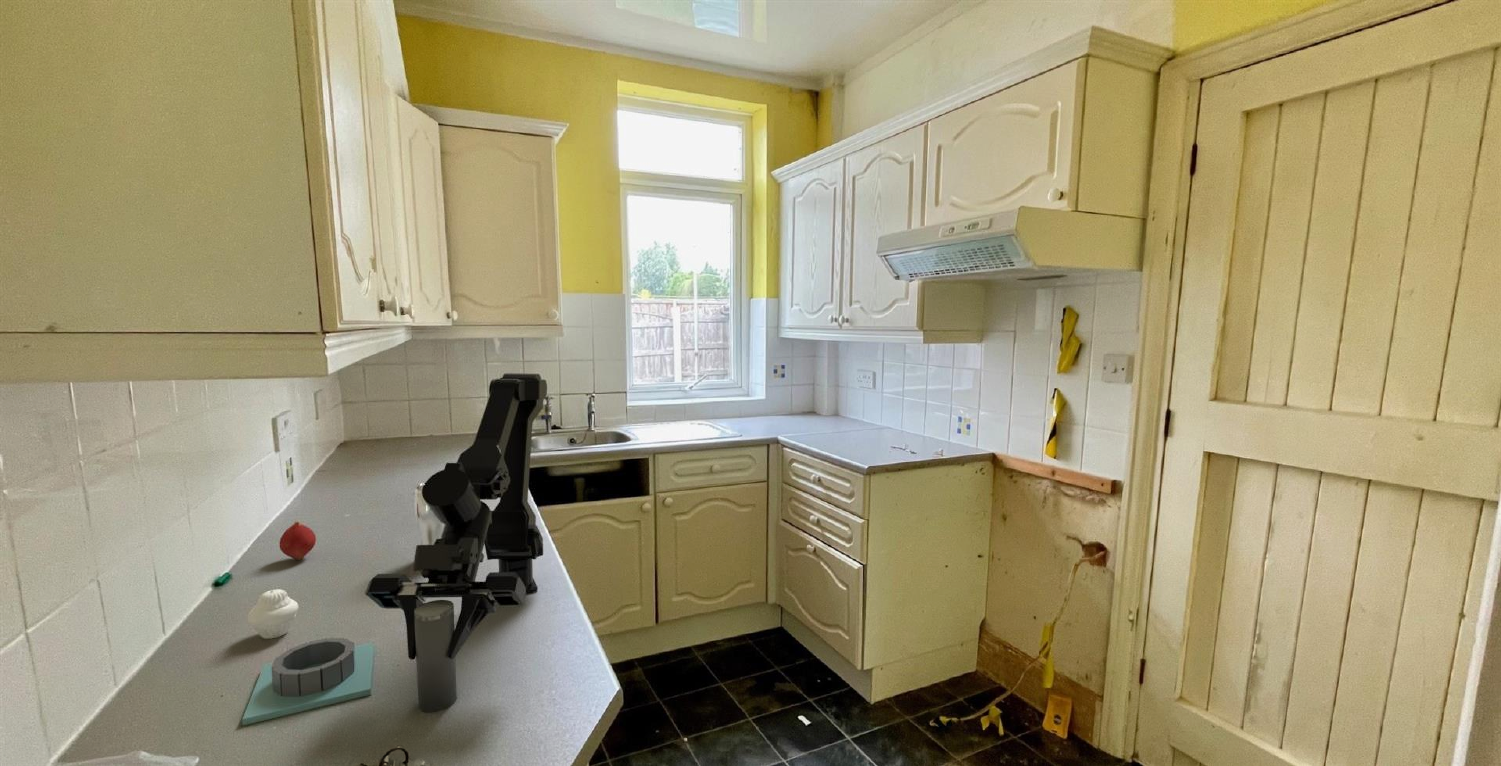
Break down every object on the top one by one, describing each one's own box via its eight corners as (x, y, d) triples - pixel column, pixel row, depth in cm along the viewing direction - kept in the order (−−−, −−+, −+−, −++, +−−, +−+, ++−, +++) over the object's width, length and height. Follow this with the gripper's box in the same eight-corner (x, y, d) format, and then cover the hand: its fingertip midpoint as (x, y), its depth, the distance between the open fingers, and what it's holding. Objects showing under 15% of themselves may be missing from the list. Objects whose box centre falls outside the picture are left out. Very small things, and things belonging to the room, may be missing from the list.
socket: (264, 670, 84) (262, 644, 84) (374, 647, 91) (373, 622, 90) (242, 725, 73) (240, 695, 73) (370, 694, 79) (369, 666, 79)
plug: (417, 696, 79) (414, 604, 78) (455, 687, 81) (452, 597, 80) (418, 716, 75) (414, 619, 74) (457, 705, 78) (454, 611, 76)
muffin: (308, 629, 95) (305, 586, 95) (262, 648, 90) (259, 602, 89) (286, 620, 98) (283, 578, 97) (240, 637, 93) (237, 593, 92)
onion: (273, 563, 120) (270, 523, 119) (300, 552, 126) (298, 514, 125) (296, 566, 119) (294, 526, 118) (323, 555, 124) (321, 517, 123)
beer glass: (445, 548, 129) (443, 479, 128) (461, 557, 125) (459, 485, 123) (411, 558, 124) (408, 485, 122) (426, 567, 120) (423, 492, 118)
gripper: (369, 514, 79) (321, 640, 69) (517, 513, 81) (491, 636, 71) (401, 550, 88) (363, 667, 78) (535, 549, 89) (513, 663, 79)
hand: (431, 658), depth 76 cm, fingers closed on plug, 4 cm apart
